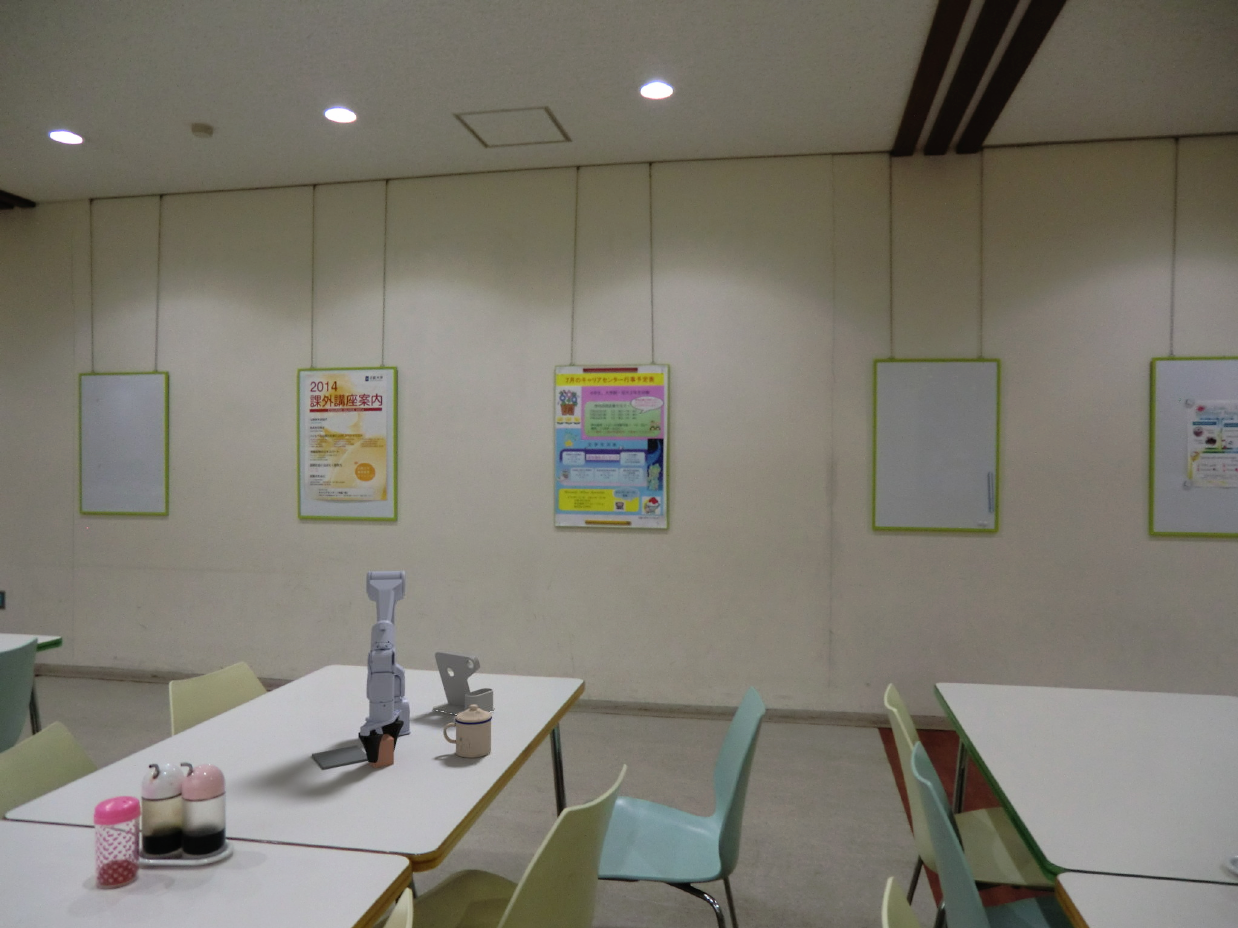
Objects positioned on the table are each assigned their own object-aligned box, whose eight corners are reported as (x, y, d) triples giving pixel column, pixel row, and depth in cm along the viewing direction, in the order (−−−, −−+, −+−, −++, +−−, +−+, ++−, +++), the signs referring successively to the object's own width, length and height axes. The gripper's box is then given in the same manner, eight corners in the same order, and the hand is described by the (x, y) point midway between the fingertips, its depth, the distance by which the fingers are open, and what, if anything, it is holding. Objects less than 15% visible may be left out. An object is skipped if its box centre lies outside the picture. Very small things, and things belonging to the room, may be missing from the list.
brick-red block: (387, 758, 190) (387, 733, 190) (393, 763, 187) (393, 738, 187) (368, 762, 188) (369, 737, 188) (374, 767, 184) (375, 742, 184)
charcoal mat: (357, 747, 198) (357, 745, 198) (370, 759, 189) (370, 757, 189) (311, 755, 192) (311, 753, 192) (323, 769, 183) (323, 767, 183)
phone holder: (497, 711, 230) (497, 649, 230) (473, 719, 221) (473, 656, 222) (455, 702, 239) (455, 643, 240) (430, 710, 231) (430, 648, 231)
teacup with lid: (493, 745, 199) (494, 699, 200) (489, 758, 190) (490, 710, 190) (446, 746, 199) (446, 700, 199) (440, 759, 190) (440, 710, 190)
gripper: (384, 690, 196) (383, 745, 195) (348, 706, 182) (348, 765, 181) (409, 692, 194) (408, 748, 193) (375, 709, 180) (375, 768, 179)
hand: (381, 756), depth 187 cm, fingers open, 7 cm apart
